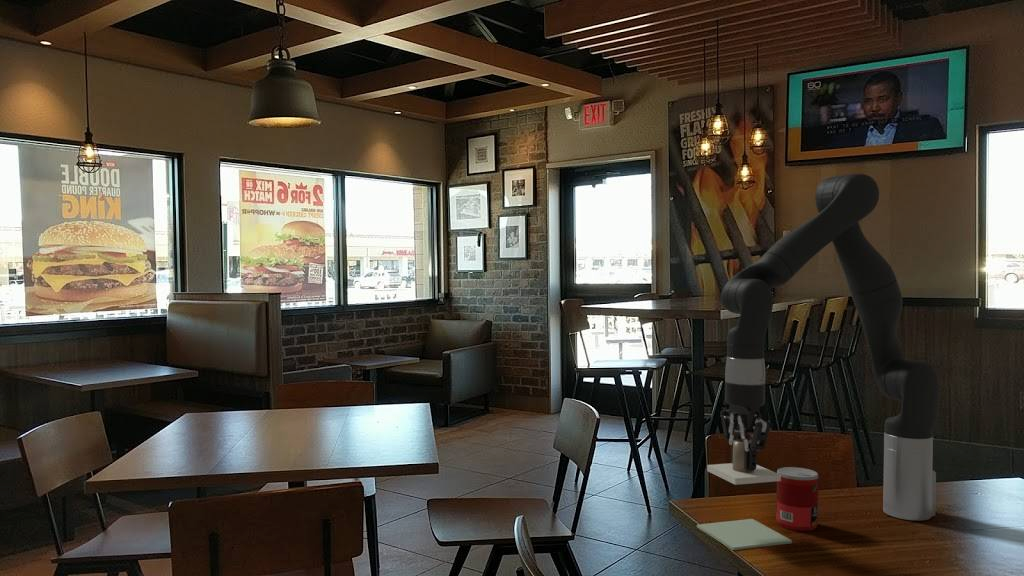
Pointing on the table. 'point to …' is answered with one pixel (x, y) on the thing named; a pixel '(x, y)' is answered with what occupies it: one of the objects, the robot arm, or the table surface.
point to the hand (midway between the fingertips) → (743, 466)
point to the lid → (742, 469)
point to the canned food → (797, 499)
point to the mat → (743, 534)
